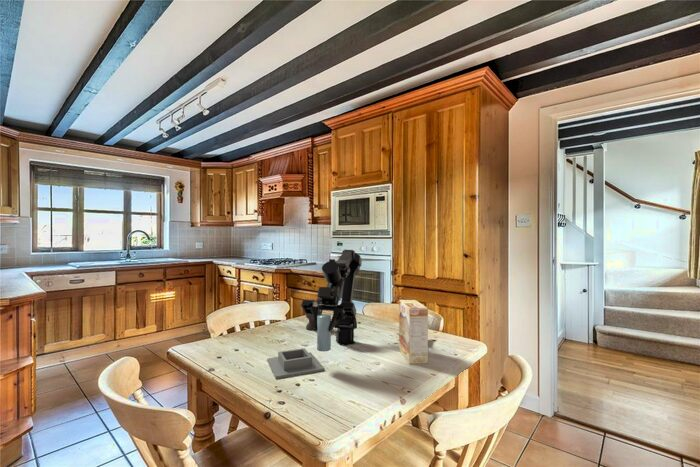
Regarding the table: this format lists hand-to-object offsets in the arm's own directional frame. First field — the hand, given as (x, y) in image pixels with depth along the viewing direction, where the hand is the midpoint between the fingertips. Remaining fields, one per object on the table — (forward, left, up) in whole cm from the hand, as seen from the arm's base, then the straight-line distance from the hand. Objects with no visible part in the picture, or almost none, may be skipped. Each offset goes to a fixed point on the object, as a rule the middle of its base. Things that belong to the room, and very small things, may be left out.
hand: (322, 330), depth 106 cm
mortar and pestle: (-13, -48, -14) cm, 51 cm away
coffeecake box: (-35, 0, -14) cm, 38 cm away
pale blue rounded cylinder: (-1, -1, -7) cm, 7 cm away
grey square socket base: (+7, -8, -13) cm, 17 cm away
